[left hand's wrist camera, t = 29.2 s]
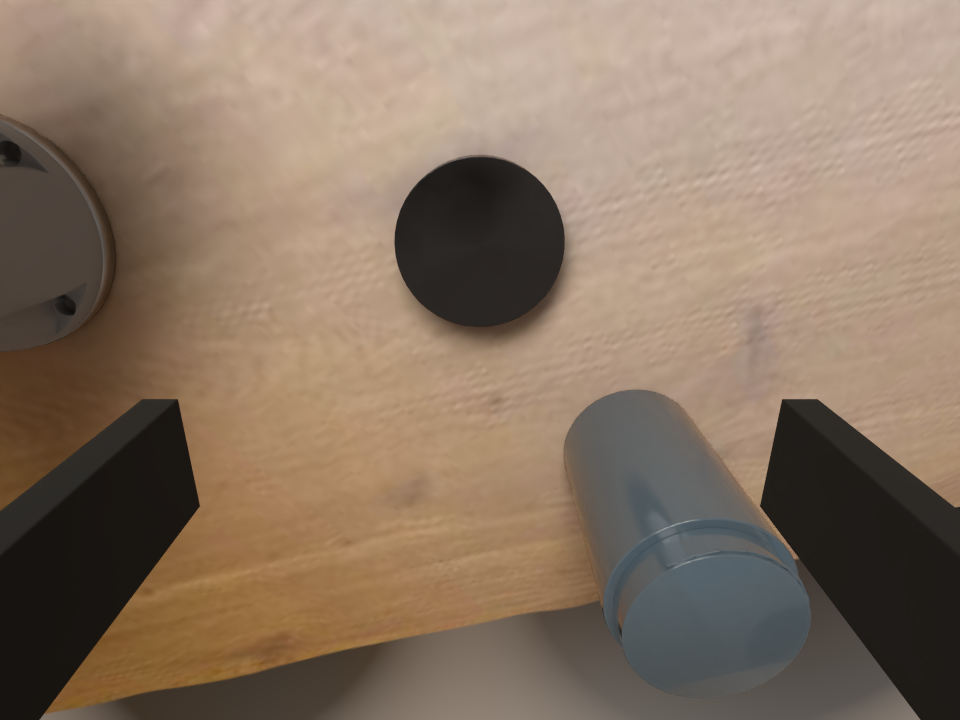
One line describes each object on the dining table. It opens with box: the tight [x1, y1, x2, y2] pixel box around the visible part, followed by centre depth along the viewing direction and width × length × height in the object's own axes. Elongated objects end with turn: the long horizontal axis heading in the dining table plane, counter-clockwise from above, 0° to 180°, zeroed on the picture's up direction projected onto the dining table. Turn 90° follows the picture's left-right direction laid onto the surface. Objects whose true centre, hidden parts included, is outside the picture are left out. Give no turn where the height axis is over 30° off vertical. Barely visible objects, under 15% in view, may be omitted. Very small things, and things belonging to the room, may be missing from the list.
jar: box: [564, 390, 811, 698], centre depth 36 cm, size 10×10×18 cm
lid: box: [395, 155, 565, 327], centre depth 38 cm, size 11×11×2 cm
